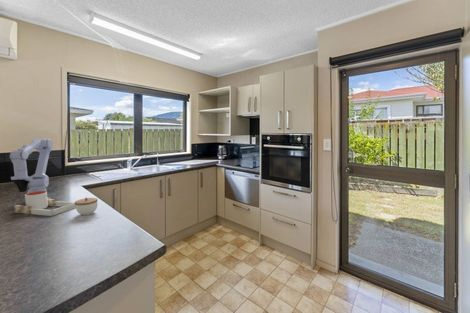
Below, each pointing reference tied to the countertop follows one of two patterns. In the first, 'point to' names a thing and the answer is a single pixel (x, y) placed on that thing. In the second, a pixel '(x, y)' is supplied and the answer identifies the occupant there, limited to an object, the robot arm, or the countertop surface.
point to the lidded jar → (86, 206)
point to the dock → (63, 207)
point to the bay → (28, 208)
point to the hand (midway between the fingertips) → (23, 191)
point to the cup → (37, 199)
